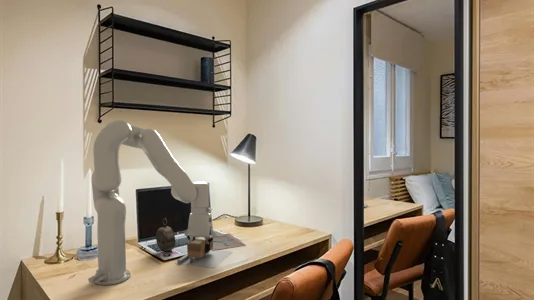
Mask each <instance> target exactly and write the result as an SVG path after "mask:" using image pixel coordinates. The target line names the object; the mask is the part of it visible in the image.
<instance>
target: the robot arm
mask: <svg viewBox="0 0 534 300" xmlns="http://www.w3.org/2000/svg"><path fill="white" fill-rule="evenodd" d="M122 145H124V146H127V147H130V148H131V147H132V148H135V149H138V150H139V149H140V150H142V151H143V152H144V154H145V156H146V158H148V160H149V162H150V163H151V165H152V166H153V168H154V170H155V171H156V172H157V173H158V174H159V175H161V176H162V177H163V178H164V179H165V180H167V182H168V183H169V184H170V185H171V186H172V187H171V190H170V194H171V196H172V197H173V198H174V199H175V200H178V201H180V202H182V203H184V204H190V213H189V216H188V217H189V218H188V224H187V225H188V226H187V229H186V230H185V231H184V232H183V234H184V236H185V237H186V238H187V239H188V243H189V242H191V241H193V240H194V239H196V238H198V237H204V238H205V241H206V244H205V253H208V252H209V251H210V242H211V241H212V240H213V239H214V238H215V237H216V236H217V235H218V234H217V233H216V232H215V230H214V226H213V217H212V214H211V212H212V210H213V209H212V208H210V205H209V201H210V200H209V199H210V197H209V193H210V192H209V189H210V188H209V186H210V185H209V183H208V182H206V181H194V182H193V181H192V180H191V178H190V177H189V175H188V174H187V172H186V171H185V170H184V169H183V167H181V165H180V164H179V162H178V161H177V160H176V159H175V157H174V156H173V155H172V152H171V151H170V150H169V148H168V147H167V145H166V143H165V142H164V141H163V138H162V137H161V135H160V134H159V133H158V132H157V130H156V129H152V128H141V127H137V126H134V125H130V124H129V122H127V121H125V120H123V119H115V120H112V121H109V122H108V123H107V124H106V125H105V126H104V127H103V128H102V129H101V130H100V131H99V133H98V134H97V136H96V137H95V140H94V143H93V149H92V152H93V155H92V156H93V166H94V169H93V171H92V174H91V191H92V199H93V206H94V209H95V211H96V214H97V215H96V216H97V234H96V235H97V236H96V237H97V267H98V268H97V269H96V270H95V274H94V275H92V276H90V277H89V278H88V279H87V281H88V283H89V284H92V283H94V284H96V285H100V286H110V285H111V286H112V285H115V284H116V285H117V284H120V283H123V282H125V281H126V280H128V279H129V278H130V277H131V271H130V270H128V269H127V261H126V260H127V258H126V257H127V252H126V248H127V247H126V218H127V217H126V216H127V207H126V203H125V201H124V200H123V198H121V196H120V188H119V187H120V186H121V183H122V174H121V167H120V166H121V165H120V154H119V153H120V152H119V151H120V148H121V146H122ZM210 236H212V237H211V238H210Z"/></svg>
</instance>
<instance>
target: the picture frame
mask: <svg viewBox="0 0 534 300" xmlns="http://www.w3.org/2000/svg"><path fill="white" fill-rule="evenodd" d="M210 237H212V235H210ZM244 246H246V244H245V243H244V242H242V241H241V240H239V239H238V238H236V237H235V236H234V235H232V234H231V233H224V234H223V233H222V234H217V236H216V237H215V238H214V239H213V249H212V250H213V251H214V250H221V251H222V250H227V249H231V248H239V247H244Z"/></svg>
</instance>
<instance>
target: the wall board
mask: <svg viewBox="0 0 534 300" xmlns="http://www.w3.org/2000/svg"><path fill="white" fill-rule="evenodd" d="M232 253H233V251H227V250H222V249H221V250H214V251H213V250H211V251H209V252H208V253H206V254H205V255H204V256H202V257H201V258H195V257H193V255H190V257H187V253H186V254H185V255H183V256H181V257H180V258H178V259H177V260H176V262H174V264H175V265H184V266H191V267H200V268H209V269H215V268H217V267H218V266H219V265H220V264H221V263H223V261H224V260H226V259H227V258H228V257H229V256H230V255H232Z"/></svg>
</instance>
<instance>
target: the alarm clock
mask: <svg viewBox="0 0 534 300" xmlns="http://www.w3.org/2000/svg"><path fill="white" fill-rule="evenodd" d="M164 220H165V223H164V222H162V223H163V227H159V228H158V229H157V231H156V233H155V234H156V235H155V241H156V244H157V247H158V249H159V250H160V252H161V251H162V252H163V251H166V252H168V251H169V252H170V251H172V250H174V249H175V247H176V236H175V235H176V234H175V232H174V230H173V229H172V227H170V226H168V225H167V224H168V220H167V218H166V217H165V218H164V217H163V219H162V221H164ZM166 225H167V226H166Z"/></svg>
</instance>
